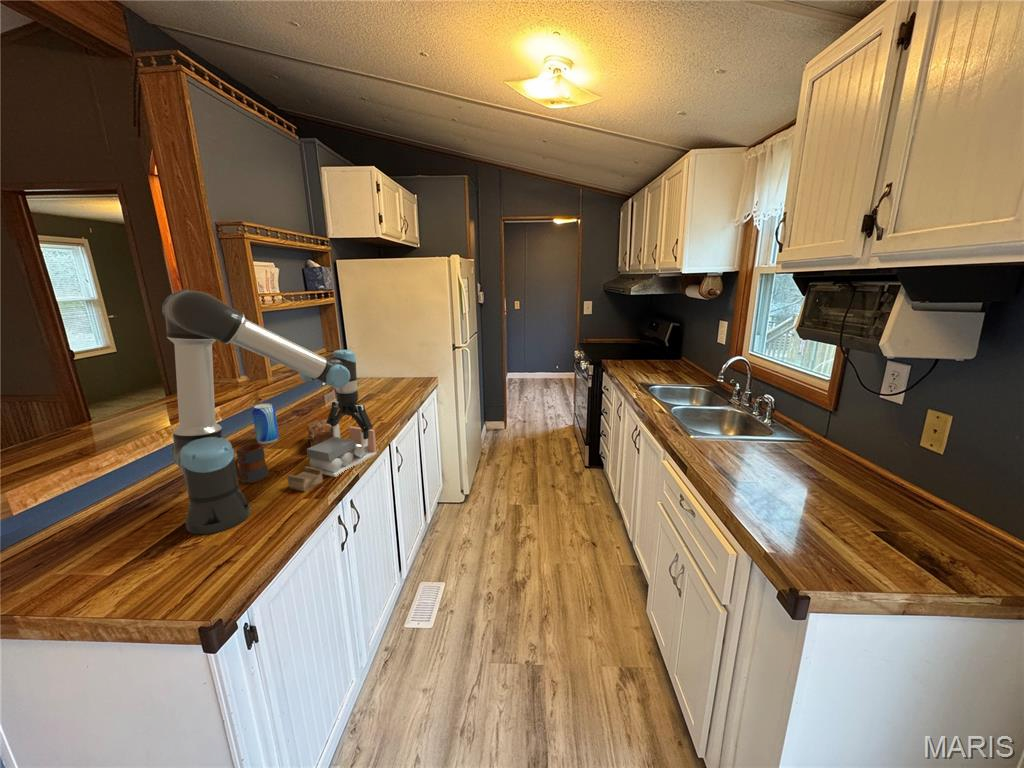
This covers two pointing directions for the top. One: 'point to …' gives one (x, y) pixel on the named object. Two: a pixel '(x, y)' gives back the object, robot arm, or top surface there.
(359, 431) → the roller bed
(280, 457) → the top surface
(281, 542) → the top surface
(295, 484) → the rack
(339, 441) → the slab
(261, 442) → the beer can
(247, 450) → the mug
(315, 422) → the bread
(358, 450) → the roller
